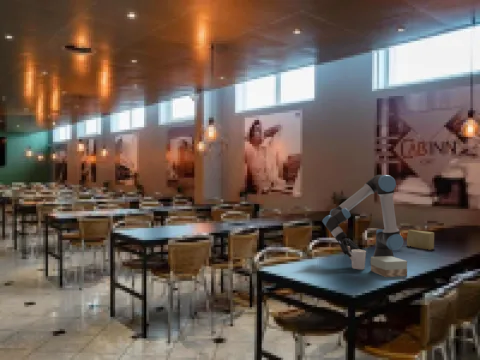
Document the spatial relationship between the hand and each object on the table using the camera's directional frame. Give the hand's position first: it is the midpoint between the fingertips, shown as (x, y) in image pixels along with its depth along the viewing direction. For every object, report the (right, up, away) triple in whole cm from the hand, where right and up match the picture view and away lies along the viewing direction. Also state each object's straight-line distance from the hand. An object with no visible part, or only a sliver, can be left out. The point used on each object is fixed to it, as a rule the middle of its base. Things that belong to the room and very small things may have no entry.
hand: (358, 259), depth 282 cm
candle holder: (0, -6, +1) cm, 7 cm away
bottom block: (+16, -7, -12) cm, 22 cm away
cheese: (+79, -7, +86) cm, 117 cm away
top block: (+16, -2, -13) cm, 20 cm away
